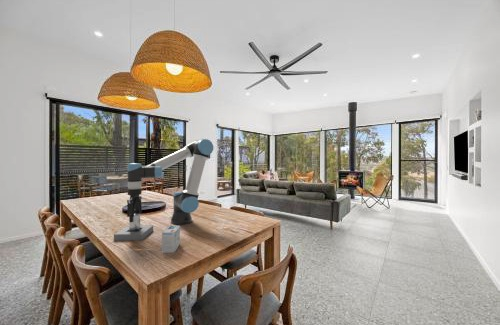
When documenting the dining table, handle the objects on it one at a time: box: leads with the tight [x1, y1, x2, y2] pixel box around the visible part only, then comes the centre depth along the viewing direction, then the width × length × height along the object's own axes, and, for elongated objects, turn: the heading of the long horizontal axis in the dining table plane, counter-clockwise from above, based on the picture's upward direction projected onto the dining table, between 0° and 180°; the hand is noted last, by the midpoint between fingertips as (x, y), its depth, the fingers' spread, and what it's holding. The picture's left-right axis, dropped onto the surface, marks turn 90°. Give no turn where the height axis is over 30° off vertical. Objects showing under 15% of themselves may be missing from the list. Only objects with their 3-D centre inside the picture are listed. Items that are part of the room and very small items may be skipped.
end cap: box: [129, 212, 141, 232], centre depth 128 cm, size 6×6×12 cm
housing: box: [113, 224, 154, 241], centre depth 128 cm, size 16×16×4 cm
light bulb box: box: [161, 225, 181, 254], centre depth 111 cm, size 11×7×11 cm, turn 5°
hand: (134, 225), depth 128 cm, fingers closed on end cap, 6 cm apart
